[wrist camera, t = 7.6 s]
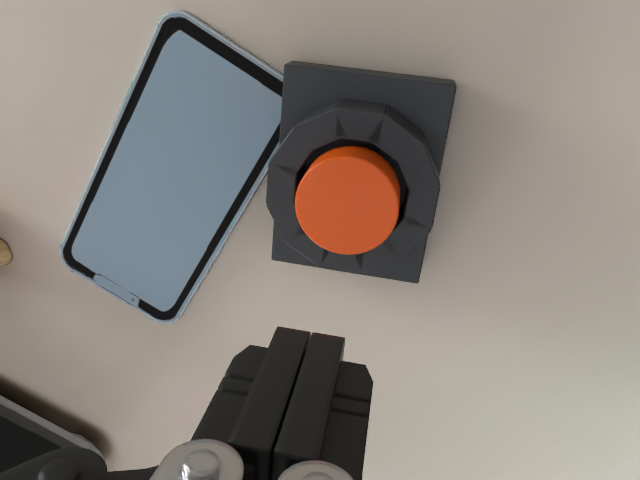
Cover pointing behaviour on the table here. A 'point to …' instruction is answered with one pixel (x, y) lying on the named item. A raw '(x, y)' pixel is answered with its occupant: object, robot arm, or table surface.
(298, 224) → the button block
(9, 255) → the grandmother figurine
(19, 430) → the camera
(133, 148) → the smartphone
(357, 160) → the button
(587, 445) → the table surface
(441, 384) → the table surface
